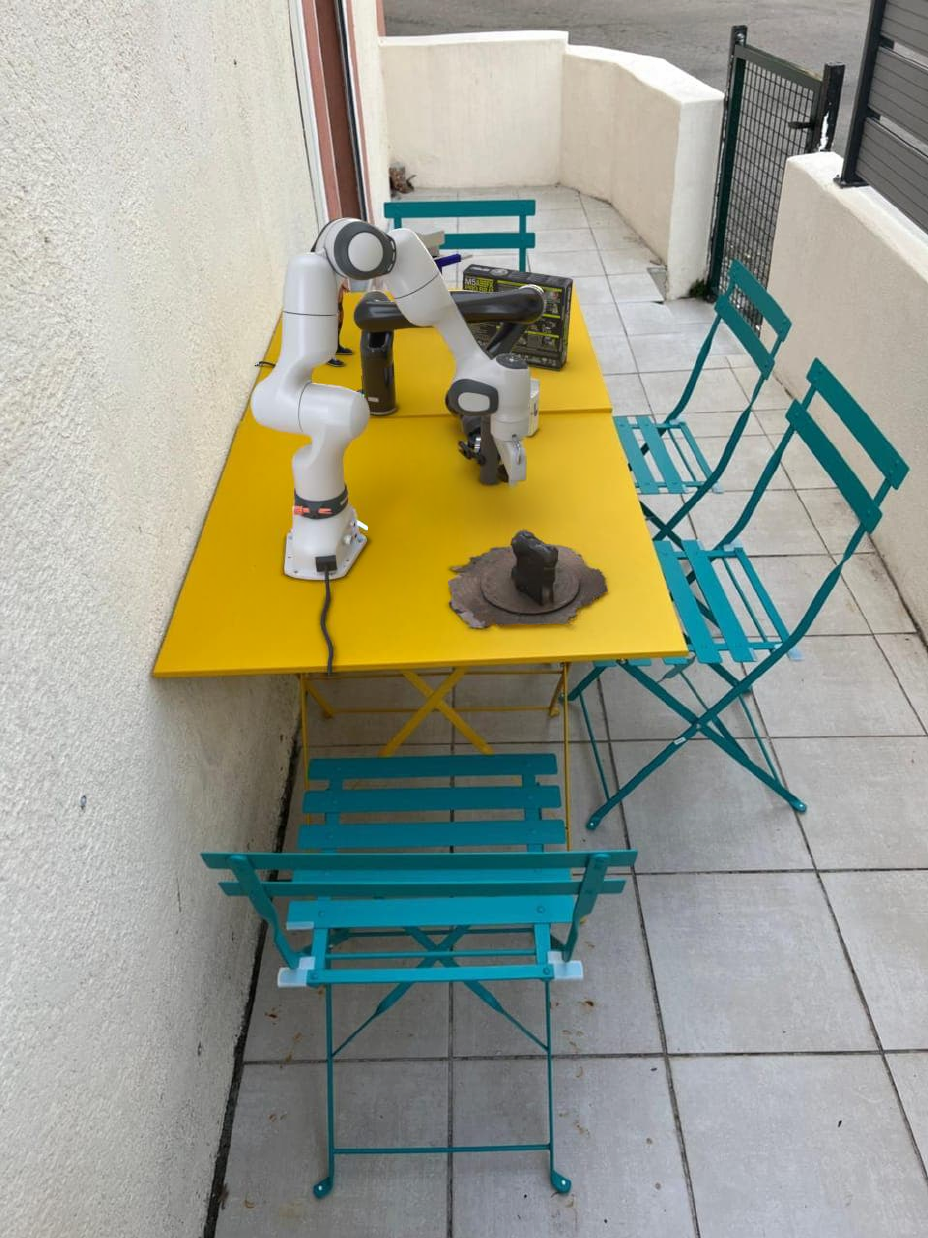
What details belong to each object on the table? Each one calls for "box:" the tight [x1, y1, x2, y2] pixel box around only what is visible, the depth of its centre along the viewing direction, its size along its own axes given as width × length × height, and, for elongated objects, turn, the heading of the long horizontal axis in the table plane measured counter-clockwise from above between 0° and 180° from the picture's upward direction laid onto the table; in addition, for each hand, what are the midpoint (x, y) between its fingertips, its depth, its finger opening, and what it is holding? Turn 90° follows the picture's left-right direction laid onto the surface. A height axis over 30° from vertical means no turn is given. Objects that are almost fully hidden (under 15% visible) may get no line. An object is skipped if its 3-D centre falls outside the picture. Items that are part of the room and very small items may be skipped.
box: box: [462, 263, 574, 371], centre depth 275 cm, size 34×7×27 cm, turn 68°
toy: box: [408, 223, 474, 276], centre depth 298 cm, size 35×10×30 cm, turn 130°
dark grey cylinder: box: [480, 415, 501, 486], centre depth 221 cm, size 5×5×19 cm
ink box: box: [527, 377, 541, 437], centre depth 242 cm, size 9×5×15 cm, turn 62°
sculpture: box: [447, 529, 609, 629], centre depth 188 cm, size 33×35×16 cm
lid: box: [497, 463, 509, 484], centre depth 210 cm, size 6×6×2 cm
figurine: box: [326, 282, 353, 367], centre depth 275 cm, size 24×6×30 cm, turn 168°
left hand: (508, 477), depth 211 cm, fingers closed on lid, 5 cm apart
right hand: (492, 461), depth 221 cm, fingers closed on dark grey cylinder, 5 cm apart
